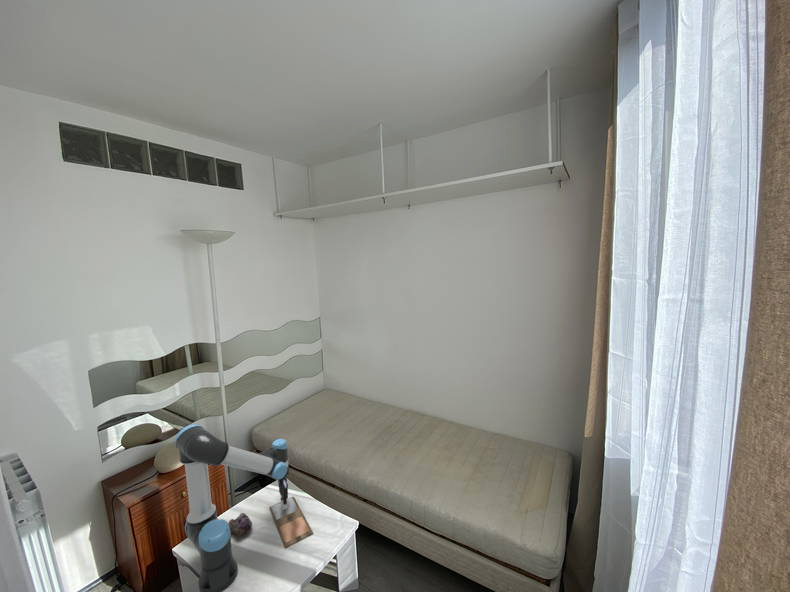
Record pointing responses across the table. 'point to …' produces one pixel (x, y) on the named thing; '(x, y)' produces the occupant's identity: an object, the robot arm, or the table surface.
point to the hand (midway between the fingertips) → (284, 507)
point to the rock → (240, 524)
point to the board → (290, 522)
